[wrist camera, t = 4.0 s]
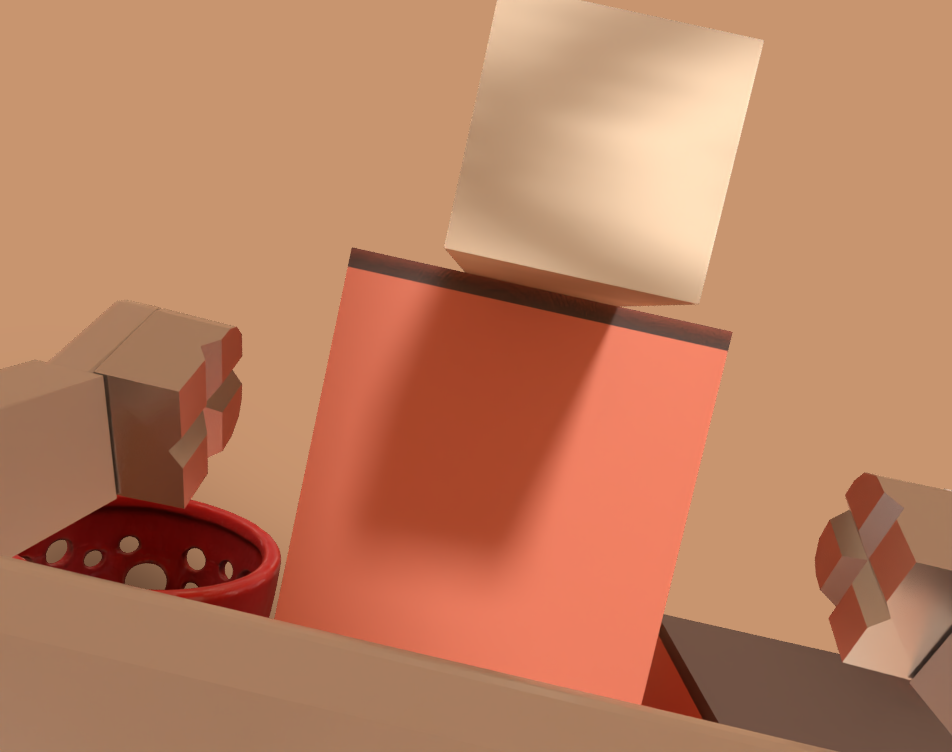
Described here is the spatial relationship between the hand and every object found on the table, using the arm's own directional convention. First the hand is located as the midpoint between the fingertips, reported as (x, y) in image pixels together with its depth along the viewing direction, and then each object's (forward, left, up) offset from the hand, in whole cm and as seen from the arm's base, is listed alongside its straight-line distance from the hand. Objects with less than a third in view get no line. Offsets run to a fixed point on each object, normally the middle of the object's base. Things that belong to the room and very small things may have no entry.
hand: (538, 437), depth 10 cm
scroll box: (0, +10, +2) cm, 11 cm away
